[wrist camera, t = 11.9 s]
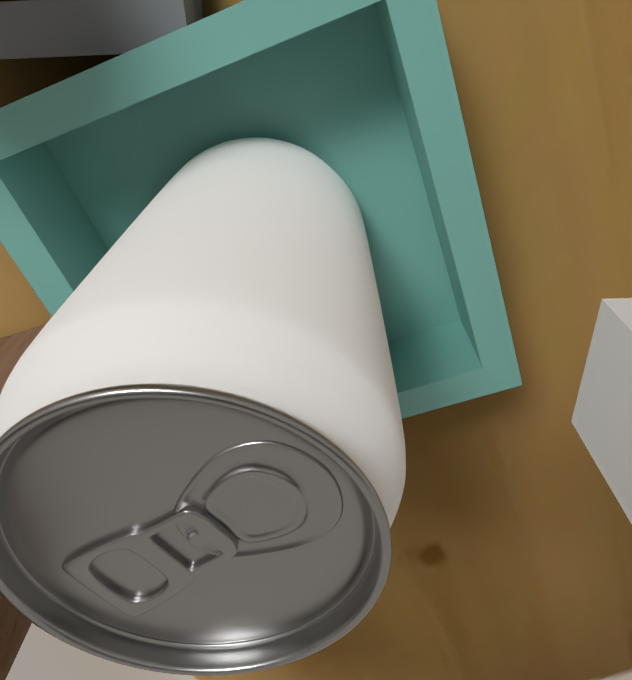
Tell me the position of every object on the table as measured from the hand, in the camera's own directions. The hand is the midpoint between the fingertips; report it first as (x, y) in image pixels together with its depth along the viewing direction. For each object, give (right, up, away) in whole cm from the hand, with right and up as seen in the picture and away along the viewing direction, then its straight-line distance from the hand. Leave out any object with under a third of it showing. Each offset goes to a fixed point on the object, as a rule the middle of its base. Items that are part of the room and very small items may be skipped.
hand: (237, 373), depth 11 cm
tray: (0, +4, +8) cm, 9 cm away
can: (0, +4, +7) cm, 8 cm away
